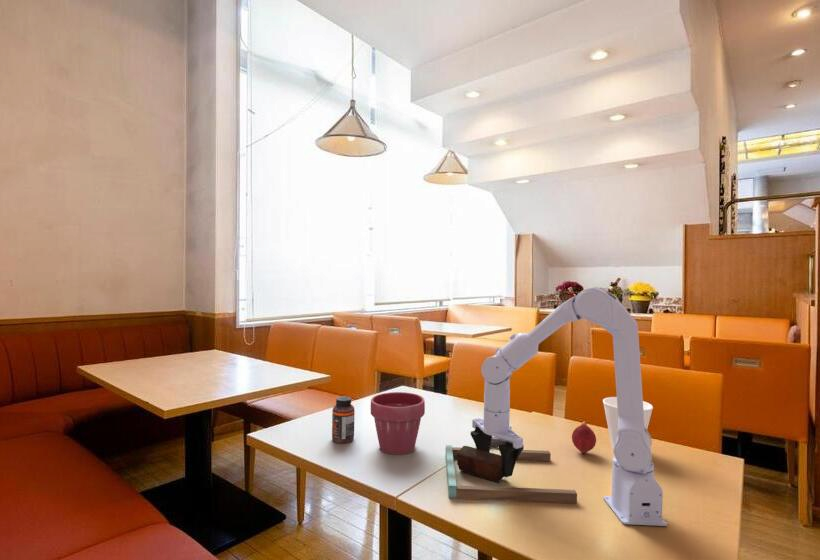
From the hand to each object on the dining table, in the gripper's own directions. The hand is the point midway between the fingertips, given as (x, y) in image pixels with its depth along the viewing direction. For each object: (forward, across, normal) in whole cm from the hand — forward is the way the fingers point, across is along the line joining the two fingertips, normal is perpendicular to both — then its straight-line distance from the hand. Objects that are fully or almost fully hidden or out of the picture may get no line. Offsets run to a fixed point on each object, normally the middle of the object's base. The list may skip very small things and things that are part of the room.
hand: (495, 468), depth 98 cm
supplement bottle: (+2, +36, +22) cm, 42 cm away
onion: (+2, -1, -29) cm, 29 cm away
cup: (+2, -6, -40) cm, 41 cm away
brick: (+1, +2, +2) cm, 3 cm away
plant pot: (+2, +25, +12) cm, 27 cm away
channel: (+2, +2, -4) cm, 5 cm away
